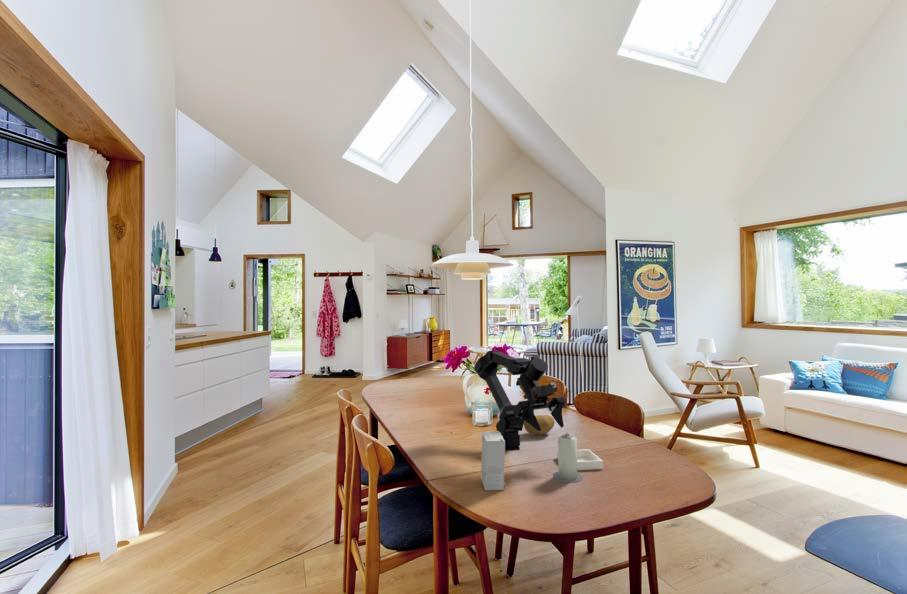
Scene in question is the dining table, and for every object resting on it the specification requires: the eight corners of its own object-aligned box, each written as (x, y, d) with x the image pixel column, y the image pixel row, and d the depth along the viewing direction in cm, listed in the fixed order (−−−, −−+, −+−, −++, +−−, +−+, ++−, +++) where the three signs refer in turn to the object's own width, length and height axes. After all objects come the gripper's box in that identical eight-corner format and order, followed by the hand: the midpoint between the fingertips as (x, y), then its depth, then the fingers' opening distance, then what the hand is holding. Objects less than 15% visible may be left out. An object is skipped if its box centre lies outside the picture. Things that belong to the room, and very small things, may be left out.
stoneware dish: (569, 472, 143) (569, 462, 143) (557, 459, 154) (557, 450, 154) (603, 470, 144) (603, 460, 144) (588, 458, 155) (588, 449, 155)
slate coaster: (558, 485, 133) (558, 483, 133) (548, 473, 142) (548, 471, 142) (587, 483, 134) (587, 481, 134) (576, 472, 143) (576, 470, 143)
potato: (560, 435, 182) (560, 416, 182) (532, 440, 176) (532, 420, 176) (546, 429, 191) (545, 410, 191) (518, 433, 184) (518, 414, 185)
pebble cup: (562, 480, 135) (561, 435, 135) (555, 473, 140) (555, 430, 140) (579, 479, 135) (579, 435, 135) (573, 472, 141) (572, 429, 141)
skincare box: (480, 480, 137) (480, 431, 137) (499, 479, 138) (499, 431, 138) (485, 491, 129) (485, 440, 129) (505, 490, 129) (505, 439, 129)
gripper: (518, 377, 146) (538, 418, 136) (563, 372, 154) (585, 412, 144) (505, 396, 153) (523, 437, 143) (548, 391, 161) (569, 430, 151)
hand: (551, 428), depth 145 cm, fingers open, 9 cm apart
